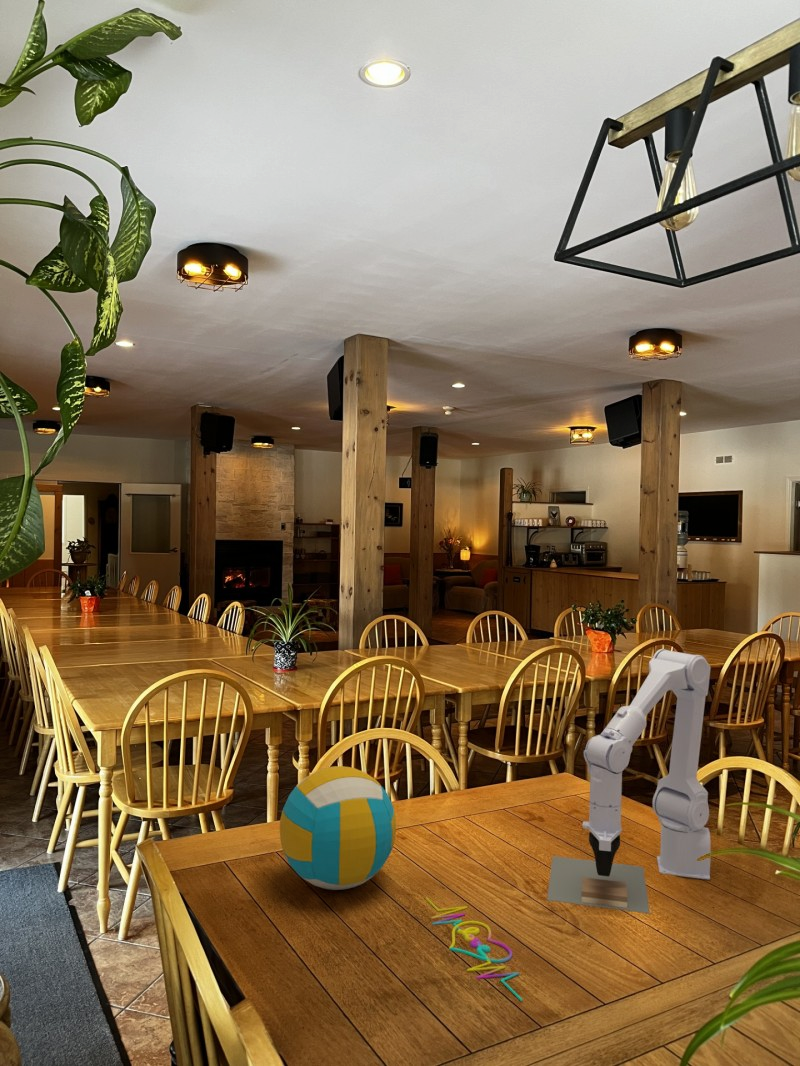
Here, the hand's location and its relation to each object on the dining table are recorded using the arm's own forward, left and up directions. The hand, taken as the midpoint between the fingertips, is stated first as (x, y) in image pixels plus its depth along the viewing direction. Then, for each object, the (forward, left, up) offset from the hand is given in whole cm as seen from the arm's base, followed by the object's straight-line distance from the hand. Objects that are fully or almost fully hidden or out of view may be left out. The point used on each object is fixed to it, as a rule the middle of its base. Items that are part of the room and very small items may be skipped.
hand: (603, 874), depth 149 cm
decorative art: (+21, +23, -4) cm, 32 cm away
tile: (0, -1, -3) cm, 3 cm away
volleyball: (+49, +9, -4) cm, 50 cm away
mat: (+1, -5, -4) cm, 6 cm away
